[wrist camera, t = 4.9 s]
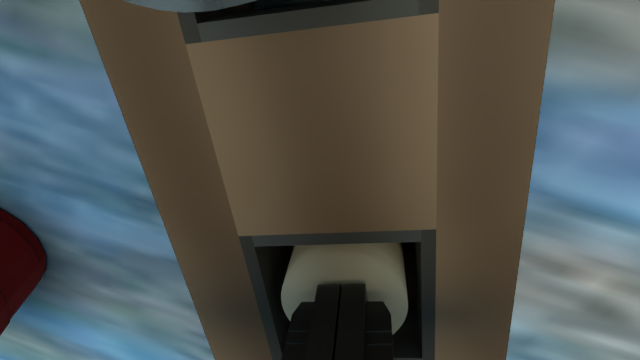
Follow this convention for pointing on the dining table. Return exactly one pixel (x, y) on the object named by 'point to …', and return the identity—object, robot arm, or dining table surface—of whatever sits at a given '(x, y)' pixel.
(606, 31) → the dining table surface
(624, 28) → the dining table surface
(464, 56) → the collar block
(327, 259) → the birch peg
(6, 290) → the plastic cup
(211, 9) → the steel peg
